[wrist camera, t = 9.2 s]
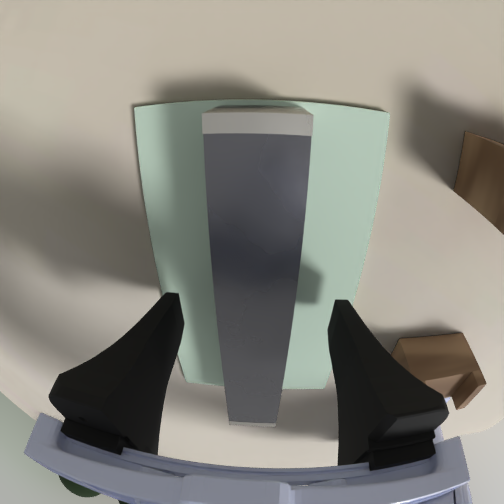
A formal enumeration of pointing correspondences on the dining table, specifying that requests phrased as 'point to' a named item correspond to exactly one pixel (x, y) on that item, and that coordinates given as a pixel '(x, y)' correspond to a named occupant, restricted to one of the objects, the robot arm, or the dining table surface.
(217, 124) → the rail
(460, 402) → the post
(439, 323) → the dining table surface
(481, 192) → the post
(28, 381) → the dining table surface
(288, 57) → the dining table surface
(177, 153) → the mat
